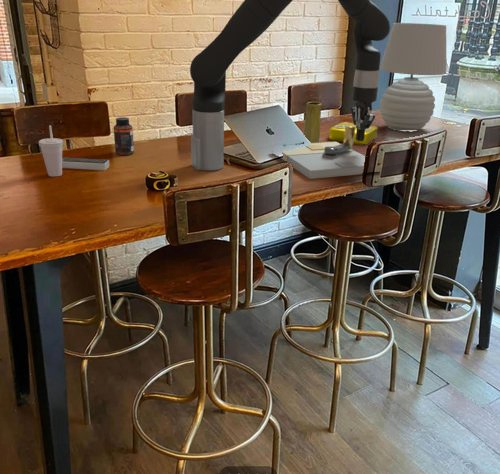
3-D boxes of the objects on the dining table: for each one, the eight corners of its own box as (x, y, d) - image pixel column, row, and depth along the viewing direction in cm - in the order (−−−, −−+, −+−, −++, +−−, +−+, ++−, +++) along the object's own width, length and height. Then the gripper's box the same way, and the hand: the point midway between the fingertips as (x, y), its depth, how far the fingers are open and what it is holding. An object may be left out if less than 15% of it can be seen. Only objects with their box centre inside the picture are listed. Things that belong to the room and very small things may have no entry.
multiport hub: (105, 171, 153) (104, 163, 152) (57, 168, 154) (56, 161, 153) (110, 167, 157) (109, 159, 156) (63, 164, 158) (62, 157, 157)
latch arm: (332, 156, 162) (334, 133, 159) (321, 153, 164) (323, 131, 161) (355, 148, 171) (358, 127, 168) (345, 146, 173) (347, 125, 170)
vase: (318, 145, 185) (322, 105, 179) (301, 144, 186) (304, 104, 180) (320, 141, 191) (323, 102, 185) (303, 140, 192) (306, 101, 186)
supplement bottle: (138, 153, 169) (135, 118, 165) (122, 156, 165) (119, 121, 161) (127, 149, 173) (124, 115, 168) (111, 153, 169) (108, 118, 164)
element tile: (365, 146, 189) (367, 133, 187) (327, 139, 195) (328, 127, 193) (377, 138, 201) (379, 125, 199) (341, 132, 207) (342, 120, 205)
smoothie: (53, 179, 143) (46, 129, 138) (38, 175, 146) (30, 125, 141) (71, 173, 148) (66, 124, 143) (56, 169, 151) (50, 121, 146)
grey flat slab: (310, 179, 151) (311, 169, 149) (272, 153, 175) (272, 144, 173) (381, 172, 159) (382, 163, 157) (335, 148, 183) (336, 140, 181)
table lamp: (386, 119, 230) (400, 22, 213) (443, 129, 217) (463, 25, 200) (361, 129, 211) (374, 23, 194) (423, 140, 198) (442, 27, 181)
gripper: (386, 88, 155) (379, 145, 162) (367, 81, 167) (361, 135, 174) (363, 88, 153) (357, 146, 161) (345, 82, 165) (340, 136, 172)
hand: (359, 140), depth 167 cm, fingers closed
